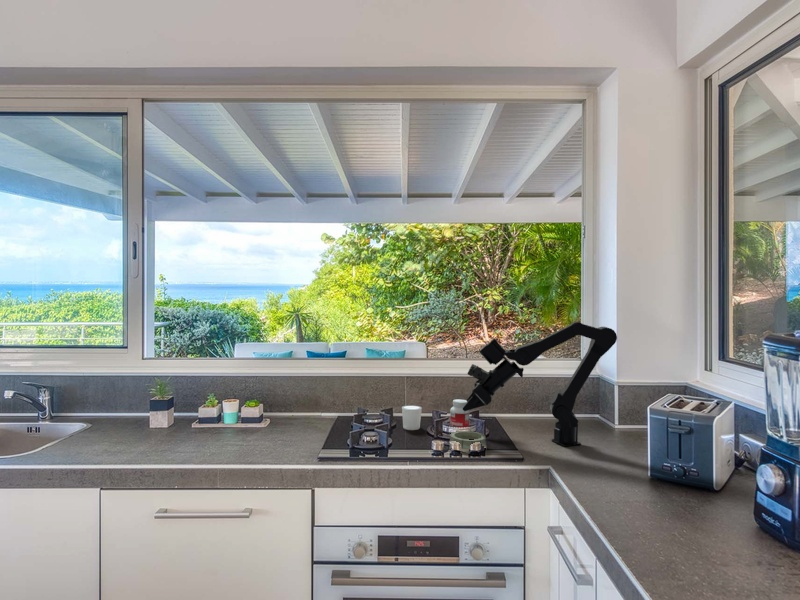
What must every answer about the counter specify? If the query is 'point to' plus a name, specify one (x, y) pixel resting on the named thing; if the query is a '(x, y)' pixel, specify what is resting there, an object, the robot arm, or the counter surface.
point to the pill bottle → (459, 414)
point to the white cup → (411, 417)
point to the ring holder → (467, 439)
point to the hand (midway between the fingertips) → (464, 407)
